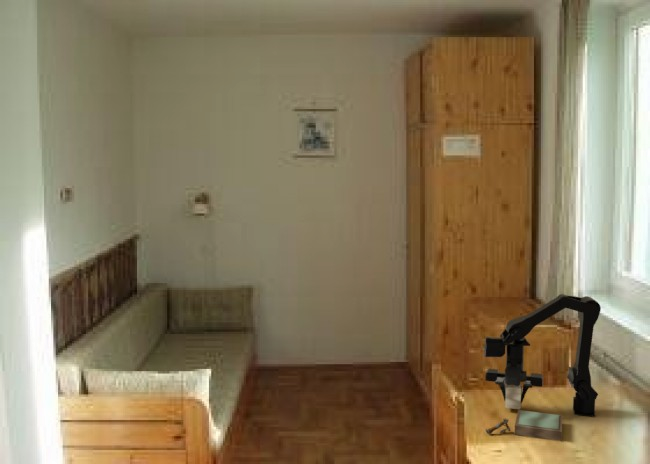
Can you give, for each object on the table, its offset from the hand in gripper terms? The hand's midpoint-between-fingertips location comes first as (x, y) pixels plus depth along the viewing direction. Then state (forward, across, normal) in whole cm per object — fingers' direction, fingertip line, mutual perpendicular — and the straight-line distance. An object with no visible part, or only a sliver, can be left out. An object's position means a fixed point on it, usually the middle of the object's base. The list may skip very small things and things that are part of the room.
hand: (513, 401), depth 235 cm
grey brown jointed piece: (+4, -3, -21) cm, 22 cm away
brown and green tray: (+3, +9, -14) cm, 17 cm away
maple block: (+2, 0, 0) cm, 2 cm away
